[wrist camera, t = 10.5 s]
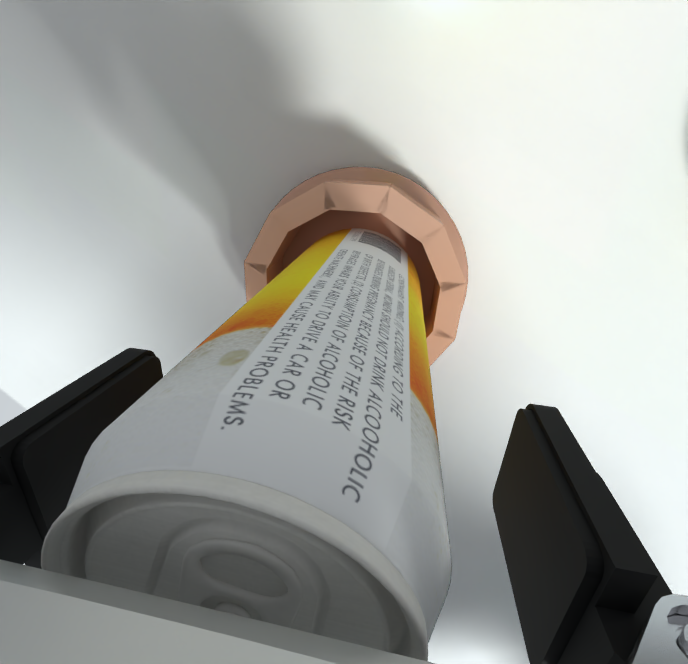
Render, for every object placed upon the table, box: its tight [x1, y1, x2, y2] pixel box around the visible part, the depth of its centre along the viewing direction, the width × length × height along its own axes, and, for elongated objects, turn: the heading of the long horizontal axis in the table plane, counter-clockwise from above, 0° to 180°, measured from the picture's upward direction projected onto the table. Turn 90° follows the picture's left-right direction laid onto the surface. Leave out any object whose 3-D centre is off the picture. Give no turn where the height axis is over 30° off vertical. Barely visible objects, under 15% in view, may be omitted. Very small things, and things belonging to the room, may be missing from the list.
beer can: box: [41, 228, 452, 661], centre depth 12 cm, size 6×6×15 cm
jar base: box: [244, 167, 468, 367], centre depth 18 cm, size 11×11×3 cm
